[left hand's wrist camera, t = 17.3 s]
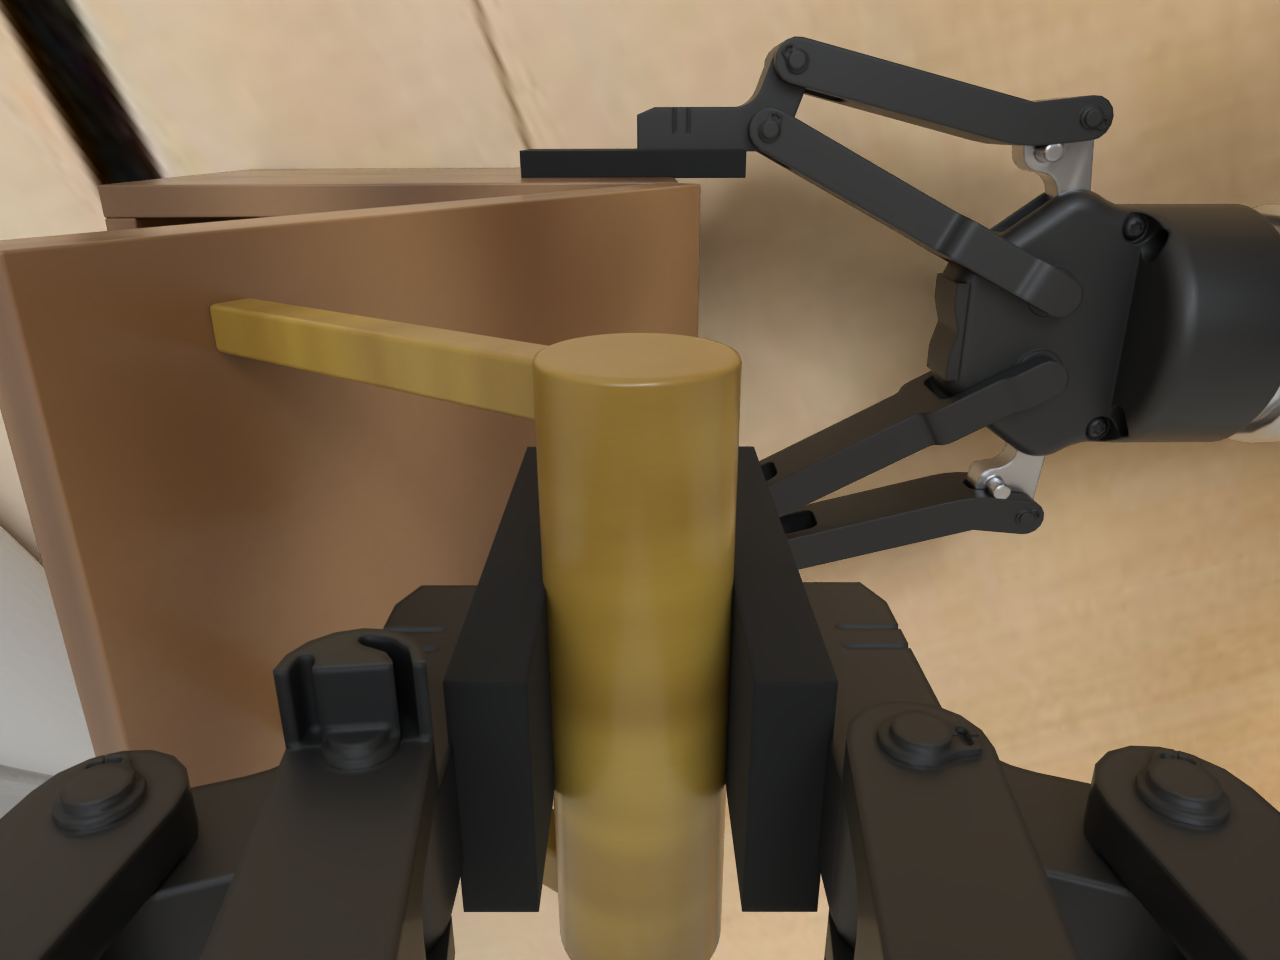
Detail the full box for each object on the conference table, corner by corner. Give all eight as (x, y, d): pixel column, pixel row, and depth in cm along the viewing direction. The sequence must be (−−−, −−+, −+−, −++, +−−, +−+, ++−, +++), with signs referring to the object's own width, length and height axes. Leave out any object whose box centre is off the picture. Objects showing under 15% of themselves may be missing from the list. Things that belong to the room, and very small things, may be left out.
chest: (287, 413, 37) (166, 513, 27) (250, 169, 33) (96, 184, 24) (664, 410, 37) (675, 509, 27) (665, 167, 33) (679, 181, 24)
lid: (116, 838, 15) (575, 1205, 10) (-47, 244, 11) (533, 330, 6) (658, 513, 27) (986, 600, 22) (659, 182, 23) (1047, 195, 18)
